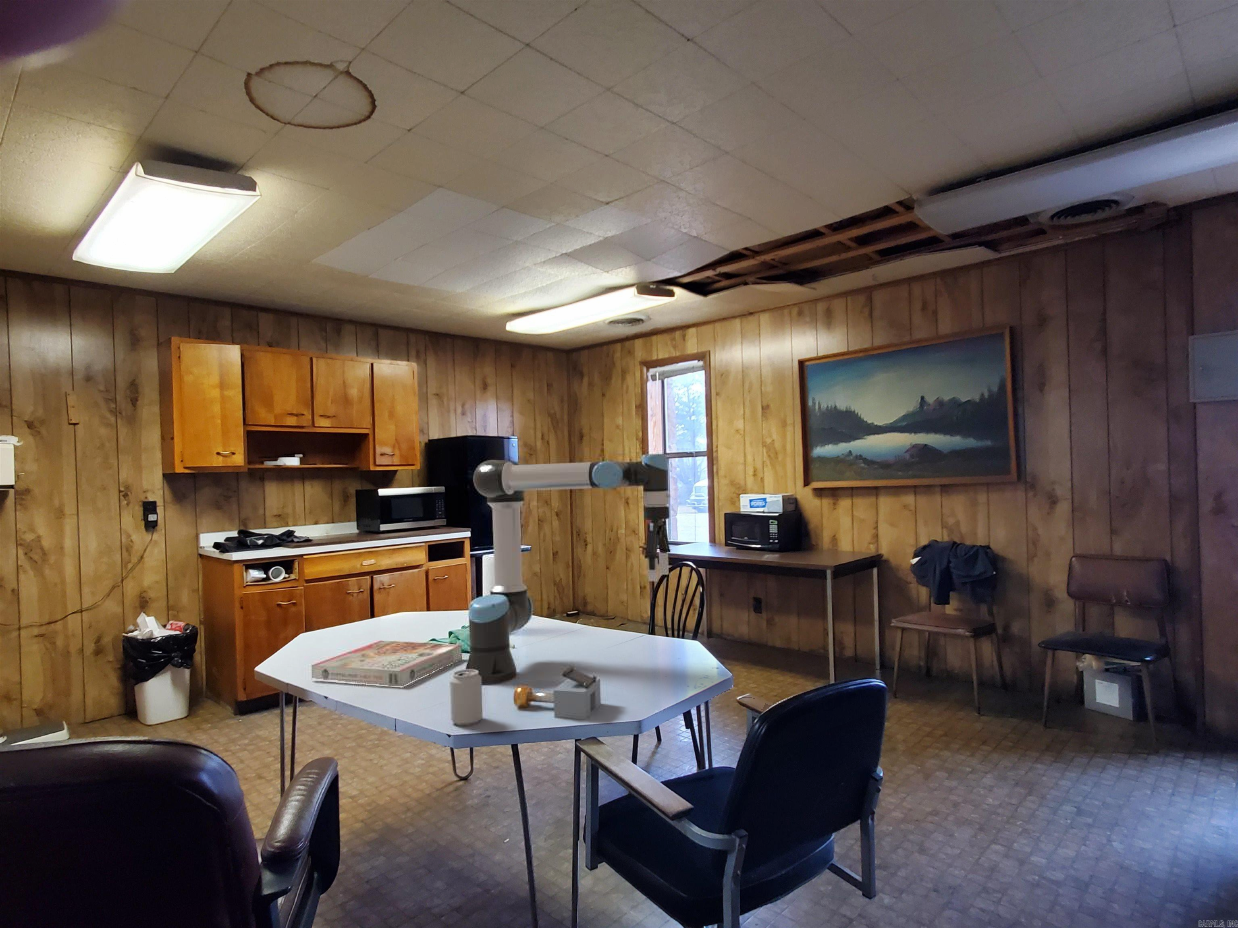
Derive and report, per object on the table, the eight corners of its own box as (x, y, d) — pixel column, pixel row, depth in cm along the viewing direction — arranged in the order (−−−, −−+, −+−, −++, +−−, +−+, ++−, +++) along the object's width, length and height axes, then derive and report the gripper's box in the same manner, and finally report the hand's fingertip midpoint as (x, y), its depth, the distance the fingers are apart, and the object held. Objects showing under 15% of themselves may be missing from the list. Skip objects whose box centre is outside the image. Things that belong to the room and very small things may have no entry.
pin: (513, 708, 178) (513, 688, 178) (522, 702, 183) (521, 683, 183) (561, 711, 174) (560, 691, 174) (568, 705, 179) (568, 685, 179)
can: (461, 715, 174) (459, 666, 175) (488, 717, 172) (486, 668, 173) (445, 725, 167) (443, 675, 168) (473, 727, 165) (471, 676, 165)
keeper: (560, 676, 173) (562, 671, 173) (570, 669, 180) (572, 664, 180) (587, 688, 171) (588, 683, 171) (596, 680, 178) (597, 675, 178)
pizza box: (380, 640, 240) (461, 644, 230) (380, 656, 240) (462, 660, 230) (311, 665, 210) (401, 671, 200) (312, 682, 210) (401, 689, 200)
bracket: (554, 716, 171) (553, 690, 171) (571, 701, 182) (570, 676, 182) (585, 719, 169) (584, 691, 169) (600, 703, 180) (599, 677, 180)
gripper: (658, 507, 194) (661, 584, 194) (677, 503, 218) (679, 571, 218) (632, 508, 197) (635, 583, 196) (654, 504, 220) (656, 571, 220)
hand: (658, 577), depth 207 cm, fingers open, 13 cm apart
